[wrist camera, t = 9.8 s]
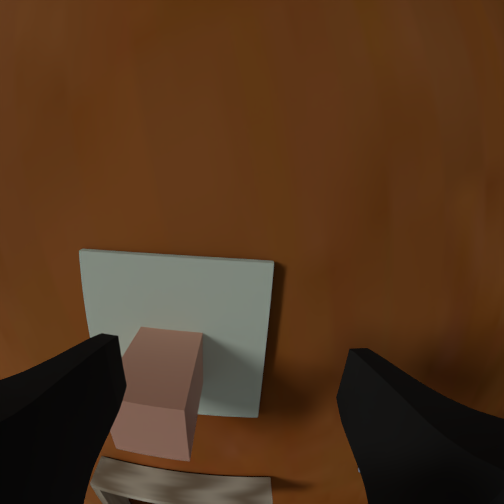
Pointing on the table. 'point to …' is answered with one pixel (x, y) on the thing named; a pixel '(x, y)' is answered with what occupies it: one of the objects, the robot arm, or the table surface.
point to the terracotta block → (160, 393)
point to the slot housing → (174, 486)
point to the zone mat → (188, 314)
